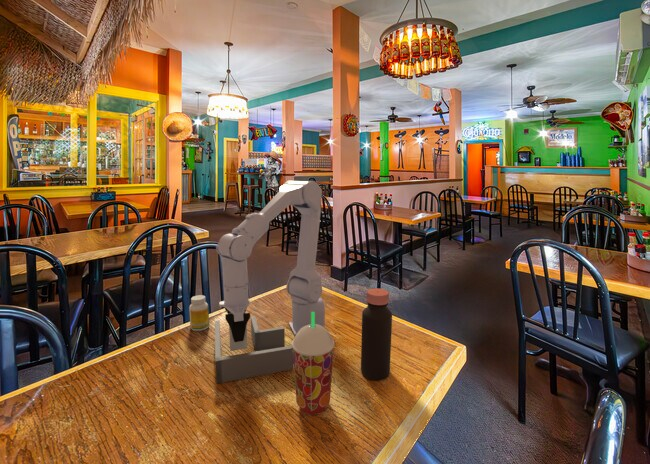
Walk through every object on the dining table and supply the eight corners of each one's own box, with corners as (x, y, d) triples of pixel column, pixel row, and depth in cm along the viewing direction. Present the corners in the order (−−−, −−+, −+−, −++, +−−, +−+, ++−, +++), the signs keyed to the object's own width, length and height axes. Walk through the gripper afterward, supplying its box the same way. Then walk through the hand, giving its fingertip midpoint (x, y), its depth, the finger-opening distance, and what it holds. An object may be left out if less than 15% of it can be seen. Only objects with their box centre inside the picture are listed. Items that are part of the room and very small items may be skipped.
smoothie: (292, 392, 70) (291, 304, 66) (331, 390, 71) (332, 303, 67) (292, 421, 62) (290, 323, 58) (336, 419, 63) (337, 321, 59)
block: (246, 340, 84) (244, 311, 82) (247, 348, 80) (246, 317, 79) (229, 342, 83) (228, 313, 81) (230, 351, 79) (228, 319, 77)
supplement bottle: (188, 326, 100) (185, 296, 98) (205, 321, 103) (203, 292, 101) (194, 333, 96) (191, 302, 94) (212, 328, 99) (210, 298, 97)
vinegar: (387, 384, 73) (390, 299, 69) (357, 377, 75) (359, 295, 72) (391, 367, 79) (395, 288, 76) (364, 361, 82) (366, 285, 78)
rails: (277, 330, 98) (277, 312, 97) (293, 369, 78) (293, 348, 77) (215, 339, 92) (214, 321, 91) (216, 383, 73) (215, 361, 72)
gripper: (217, 276, 84) (220, 325, 86) (218, 296, 70) (221, 354, 73) (246, 273, 86) (248, 322, 89) (251, 292, 73) (254, 349, 75)
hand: (238, 336), depth 81 cm, fingers closed on block, 4 cm apart
